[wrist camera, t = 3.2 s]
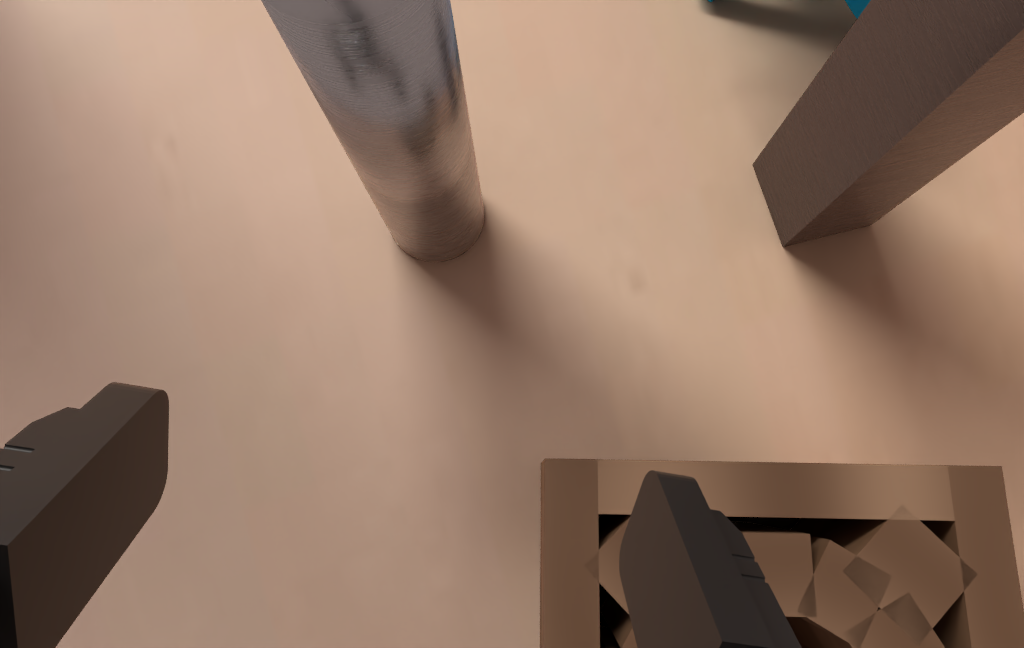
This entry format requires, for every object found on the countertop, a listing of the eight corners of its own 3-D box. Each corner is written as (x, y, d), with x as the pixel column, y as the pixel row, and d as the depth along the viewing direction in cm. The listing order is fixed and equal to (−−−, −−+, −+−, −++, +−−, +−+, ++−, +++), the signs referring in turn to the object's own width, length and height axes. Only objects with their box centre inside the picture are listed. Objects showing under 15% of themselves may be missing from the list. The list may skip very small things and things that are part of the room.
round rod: (385, 261, 24) (171, -69, 10) (391, 171, 25) (202, -257, 10) (482, 262, 24) (415, -69, 10) (485, 172, 25) (426, -259, 10)
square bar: (782, 246, 24) (1179, -113, 9) (752, 164, 25) (1075, -285, 10) (870, 225, 24) (1397, -163, 10) (838, 143, 25) (1279, -330, 10)
